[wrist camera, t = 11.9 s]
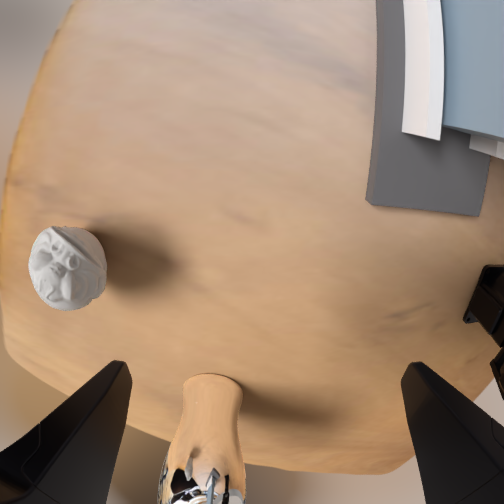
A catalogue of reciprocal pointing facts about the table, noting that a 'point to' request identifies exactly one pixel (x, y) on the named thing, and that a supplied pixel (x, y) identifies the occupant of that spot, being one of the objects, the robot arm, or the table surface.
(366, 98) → the table surface
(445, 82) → the door
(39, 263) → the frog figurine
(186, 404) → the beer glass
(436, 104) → the hinge frame
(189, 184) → the table surface
